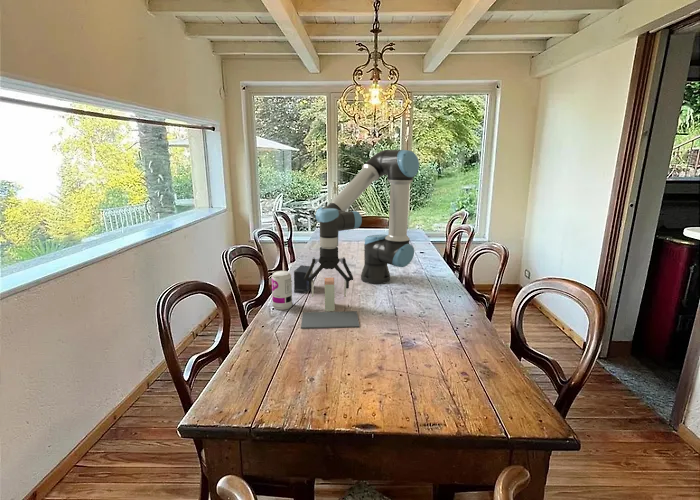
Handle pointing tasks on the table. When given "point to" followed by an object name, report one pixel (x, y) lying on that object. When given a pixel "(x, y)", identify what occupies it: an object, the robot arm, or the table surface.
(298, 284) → the small box
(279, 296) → the supplement can
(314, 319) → the mat
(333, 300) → the slab
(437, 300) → the table surface
